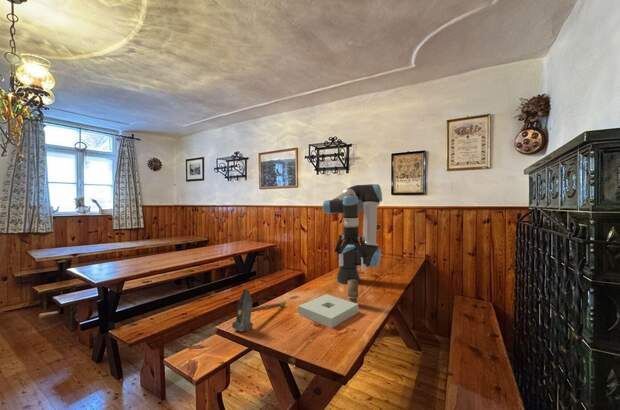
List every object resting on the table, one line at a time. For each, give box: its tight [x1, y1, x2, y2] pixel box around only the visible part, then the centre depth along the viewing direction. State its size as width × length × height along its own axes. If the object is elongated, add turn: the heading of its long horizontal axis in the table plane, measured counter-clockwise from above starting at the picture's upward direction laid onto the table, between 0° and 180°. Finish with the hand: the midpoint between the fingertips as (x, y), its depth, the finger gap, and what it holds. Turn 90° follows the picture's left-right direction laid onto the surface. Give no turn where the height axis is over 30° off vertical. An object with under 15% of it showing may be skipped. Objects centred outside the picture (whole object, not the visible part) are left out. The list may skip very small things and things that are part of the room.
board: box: [297, 293, 359, 329], centre depth 121 cm, size 20×20×4 cm
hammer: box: [231, 288, 286, 332], centre depth 119 cm, size 6×16×30 cm
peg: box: [347, 280, 359, 304], centre depth 131 cm, size 5×5×12 cm
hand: (352, 268), depth 130 cm, fingers open, 13 cm apart
